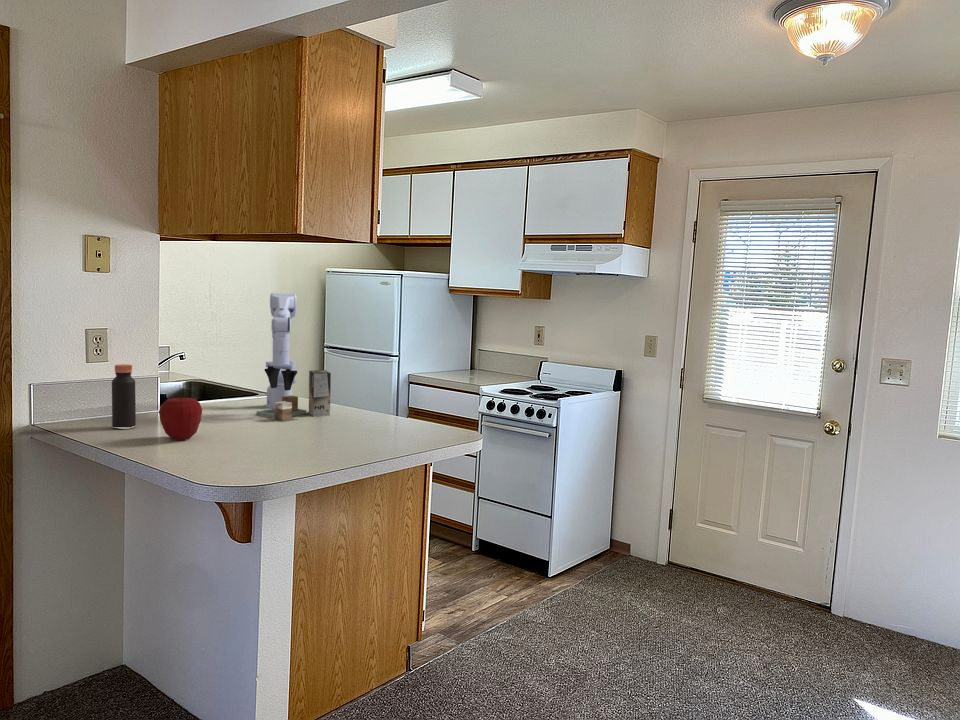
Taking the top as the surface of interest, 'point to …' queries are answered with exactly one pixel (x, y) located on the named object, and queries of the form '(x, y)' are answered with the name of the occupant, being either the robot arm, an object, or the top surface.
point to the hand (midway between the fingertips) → (280, 389)
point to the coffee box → (319, 392)
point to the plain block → (294, 402)
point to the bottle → (123, 397)
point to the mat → (283, 421)
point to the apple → (180, 417)
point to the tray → (271, 413)
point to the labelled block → (283, 411)
